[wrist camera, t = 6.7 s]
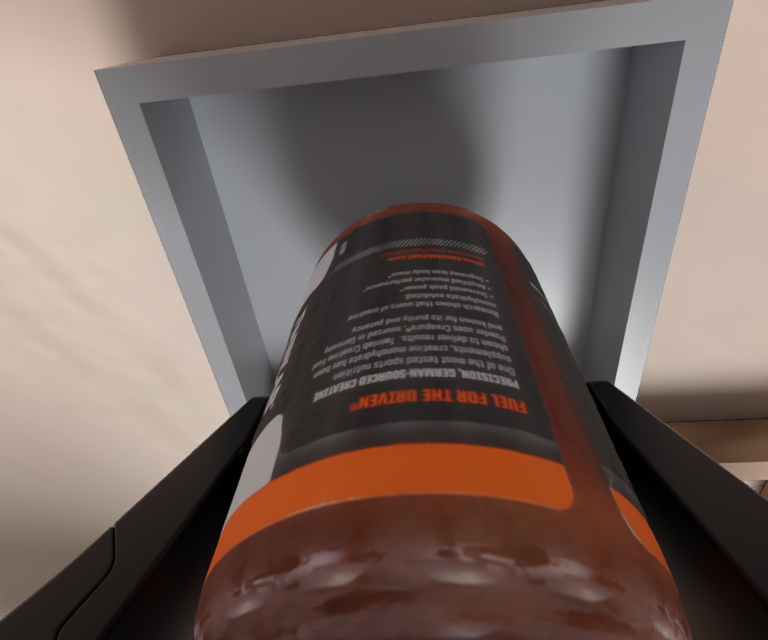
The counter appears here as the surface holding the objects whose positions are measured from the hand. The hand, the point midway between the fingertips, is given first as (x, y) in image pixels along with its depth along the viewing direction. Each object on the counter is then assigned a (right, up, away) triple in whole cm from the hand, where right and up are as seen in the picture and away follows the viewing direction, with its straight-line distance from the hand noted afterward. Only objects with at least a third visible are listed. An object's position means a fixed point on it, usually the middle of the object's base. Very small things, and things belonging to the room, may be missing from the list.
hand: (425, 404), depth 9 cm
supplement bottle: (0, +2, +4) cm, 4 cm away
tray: (0, +4, +6) cm, 7 cm away
